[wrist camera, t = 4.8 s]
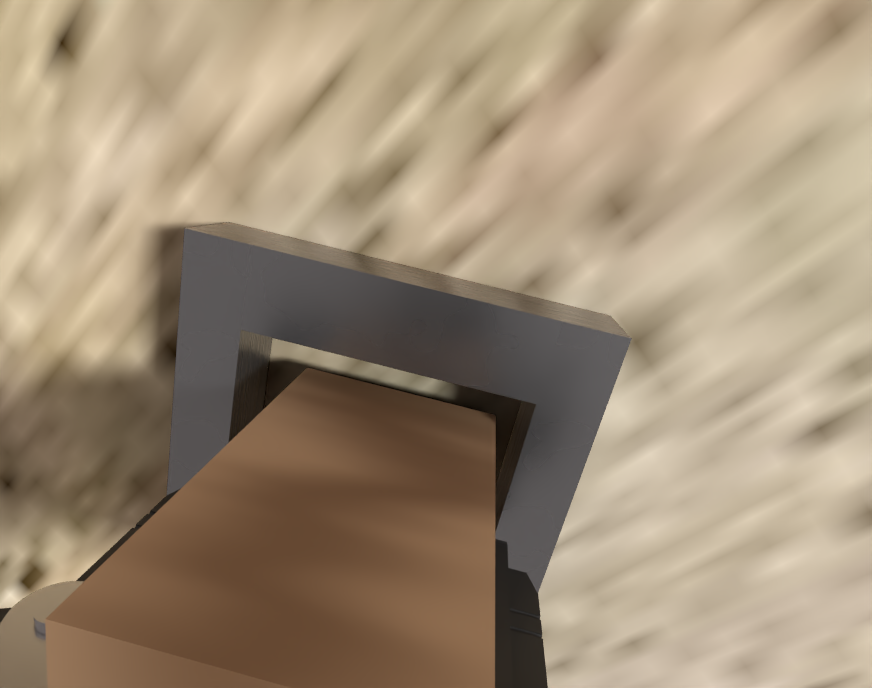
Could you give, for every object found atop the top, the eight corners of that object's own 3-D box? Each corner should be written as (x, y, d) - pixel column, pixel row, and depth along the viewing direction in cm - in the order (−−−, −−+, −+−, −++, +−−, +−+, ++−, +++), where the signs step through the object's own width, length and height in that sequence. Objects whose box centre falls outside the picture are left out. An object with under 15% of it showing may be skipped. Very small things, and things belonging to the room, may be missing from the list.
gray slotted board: (610, 315, 13) (633, 341, 11) (412, 882, 20) (403, 963, 18) (229, 221, 13) (179, 228, 11) (173, 814, 20) (137, 885, 18)
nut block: (495, 415, 13) (494, 744, 5) (451, 569, 14) (401, 993, 7) (307, 367, 13) (44, 619, 5) (283, 524, 15) (54, 889, 7)
